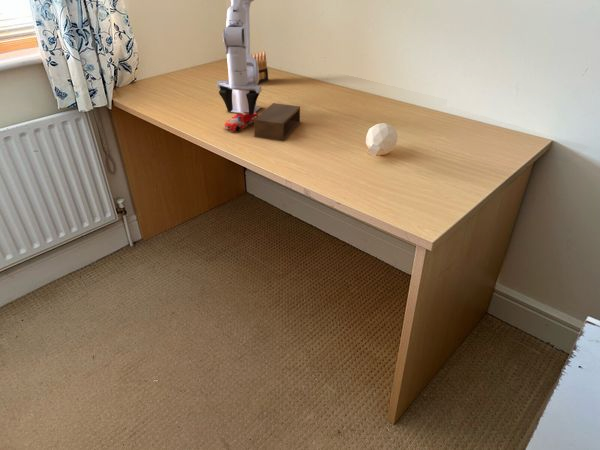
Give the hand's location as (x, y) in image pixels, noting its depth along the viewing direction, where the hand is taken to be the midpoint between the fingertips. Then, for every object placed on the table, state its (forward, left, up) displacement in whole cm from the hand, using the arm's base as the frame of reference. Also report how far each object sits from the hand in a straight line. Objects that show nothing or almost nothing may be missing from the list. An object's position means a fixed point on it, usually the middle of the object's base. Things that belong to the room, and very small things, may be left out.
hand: (240, 112), depth 140 cm
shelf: (+12, +2, -5) cm, 13 cm away
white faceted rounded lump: (+46, -6, -5) cm, 47 cm away
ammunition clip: (-15, +46, -5) cm, 49 cm away
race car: (0, 0, -5) cm, 5 cm away
